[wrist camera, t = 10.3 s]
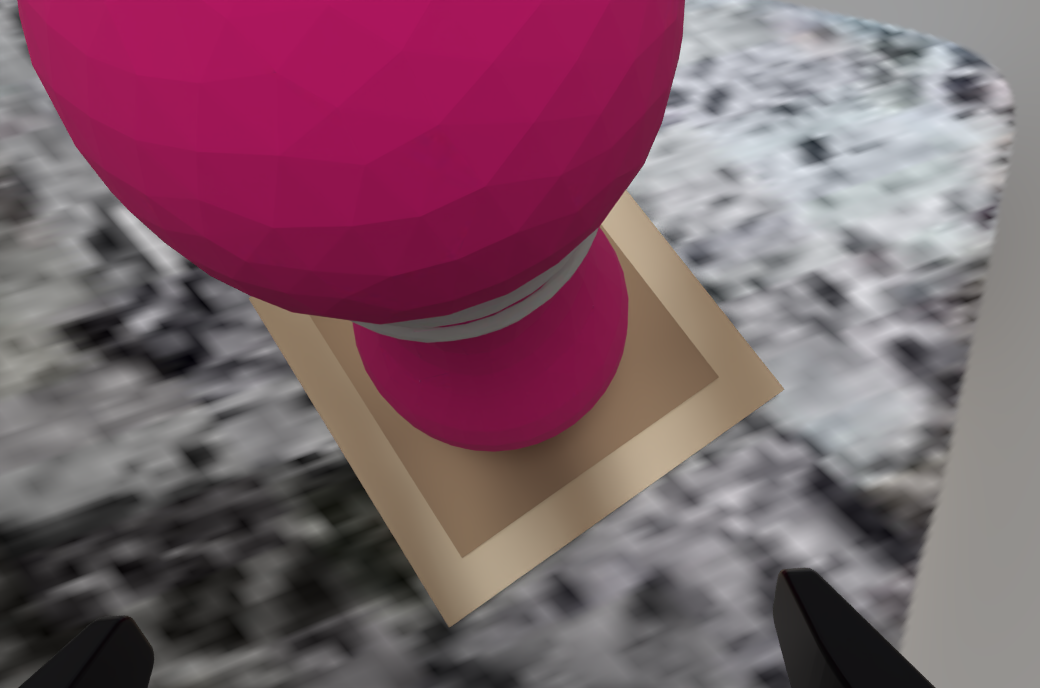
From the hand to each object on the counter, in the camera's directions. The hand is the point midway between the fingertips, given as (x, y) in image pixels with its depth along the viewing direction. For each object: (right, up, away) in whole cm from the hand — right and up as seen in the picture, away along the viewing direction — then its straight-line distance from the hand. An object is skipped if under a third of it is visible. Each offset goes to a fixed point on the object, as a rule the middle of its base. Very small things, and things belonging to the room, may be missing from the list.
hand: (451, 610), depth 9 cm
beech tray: (+1, +4, +14) cm, 14 cm away
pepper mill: (+1, +4, +13) cm, 14 cm away
